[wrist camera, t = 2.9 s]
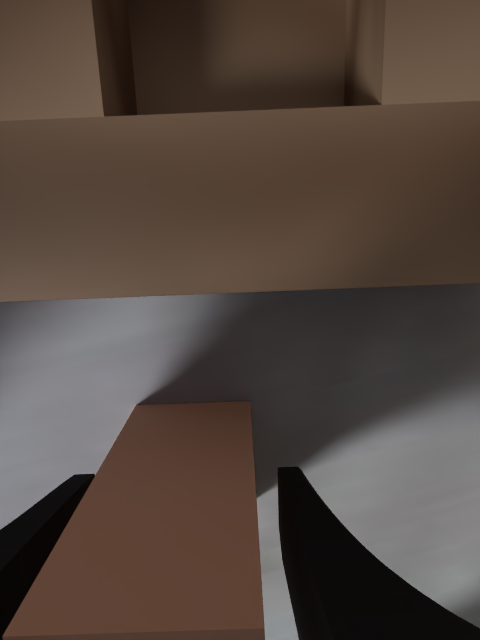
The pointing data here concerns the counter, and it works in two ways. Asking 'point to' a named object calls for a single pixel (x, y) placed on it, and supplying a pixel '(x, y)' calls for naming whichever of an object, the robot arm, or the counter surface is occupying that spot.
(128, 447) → the peg
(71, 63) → the socket block
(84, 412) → the counter surface
